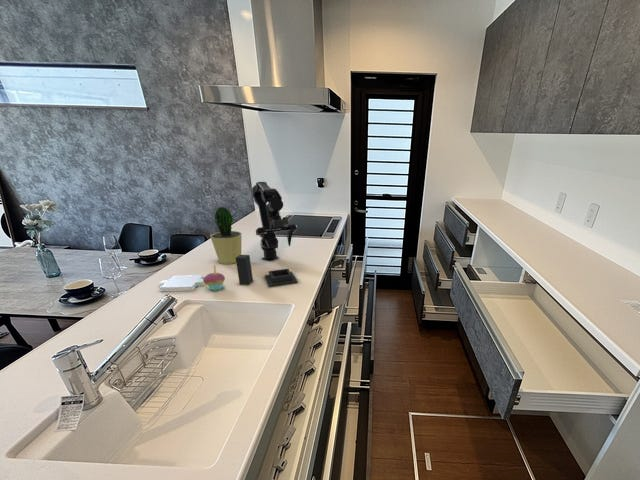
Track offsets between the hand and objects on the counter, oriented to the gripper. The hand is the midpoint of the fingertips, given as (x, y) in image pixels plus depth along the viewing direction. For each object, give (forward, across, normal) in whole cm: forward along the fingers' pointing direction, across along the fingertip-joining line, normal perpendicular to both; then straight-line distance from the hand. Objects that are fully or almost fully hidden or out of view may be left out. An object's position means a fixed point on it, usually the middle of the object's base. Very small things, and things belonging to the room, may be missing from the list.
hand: (280, 247), depth 146 cm
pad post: (+14, -18, +4) cm, 23 cm away
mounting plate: (+10, -43, +13) cm, 46 cm away
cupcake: (+14, -31, +3) cm, 34 cm away
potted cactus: (0, -20, +36) cm, 41 cm away
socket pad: (+16, -2, 0) cm, 16 cm away
